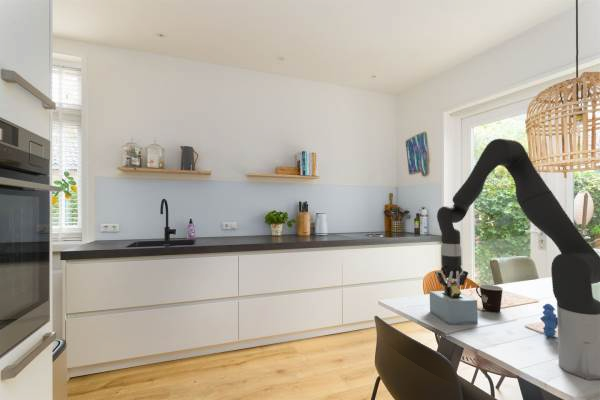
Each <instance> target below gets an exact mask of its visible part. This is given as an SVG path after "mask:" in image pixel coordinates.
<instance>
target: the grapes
mask: <svg viewBox="0 0 600 400" xmlns="http://www.w3.org/2000/svg"><path fill="white" fill-rule="evenodd" d="M542 309H543V311H542V314H543V316H541V317H540V320H541V321H542V323H544V324H543V325H544V326H543V327H542V329H543V333H544V335H545V336H546V337H547V338H553V337H555V335H556V333H557V331H556V329H558V321H557V314H556V313H555V310H556V308H554V305H552V304H550V303H546V304H544V305H543V306H542Z"/></svg>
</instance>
